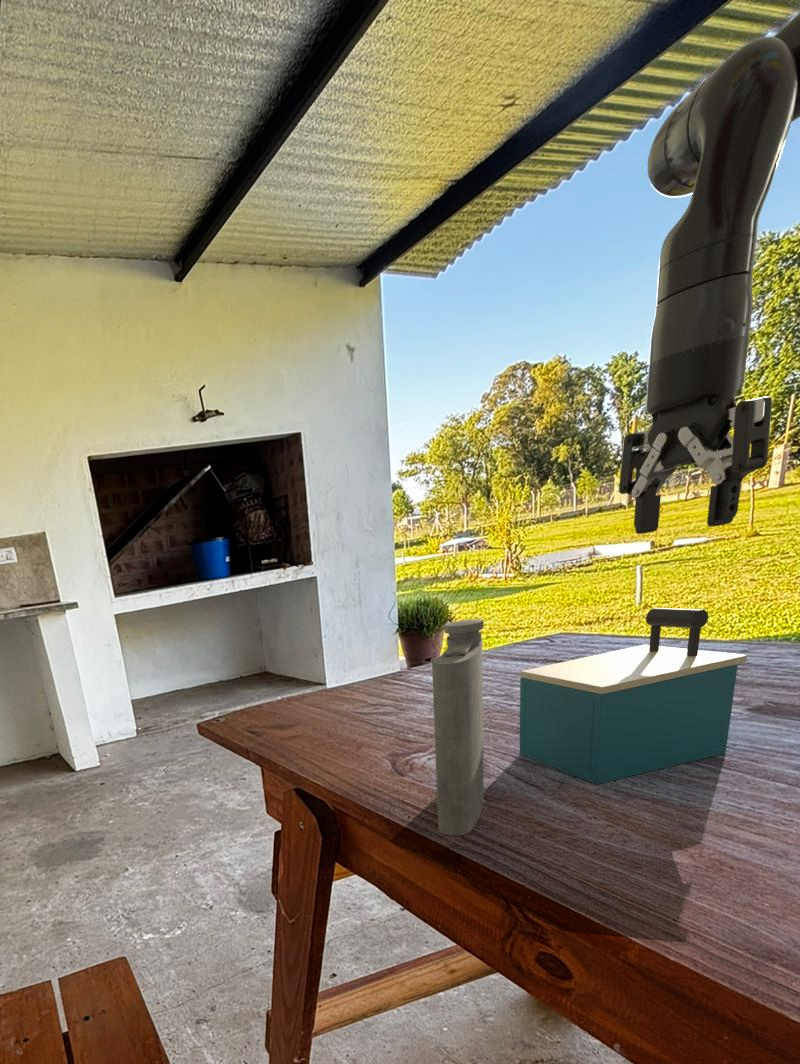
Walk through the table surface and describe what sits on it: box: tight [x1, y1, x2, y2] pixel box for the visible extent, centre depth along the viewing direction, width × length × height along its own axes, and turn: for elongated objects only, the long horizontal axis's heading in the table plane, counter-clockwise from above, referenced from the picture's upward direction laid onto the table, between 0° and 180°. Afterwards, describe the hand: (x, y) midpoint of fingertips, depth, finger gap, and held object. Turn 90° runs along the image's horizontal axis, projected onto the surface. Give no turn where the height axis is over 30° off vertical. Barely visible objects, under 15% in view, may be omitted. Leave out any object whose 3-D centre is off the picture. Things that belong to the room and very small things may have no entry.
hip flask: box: [431, 618, 485, 837], centre depth 64 cm, size 16×4×20 cm, turn 154°
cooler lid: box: [519, 607, 748, 694], centre depth 69 cm, size 17×13×6 cm
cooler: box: [519, 664, 739, 785], centre depth 72 cm, size 16×13×10 cm
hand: (680, 529), depth 64 cm, fingers open, 8 cm apart
